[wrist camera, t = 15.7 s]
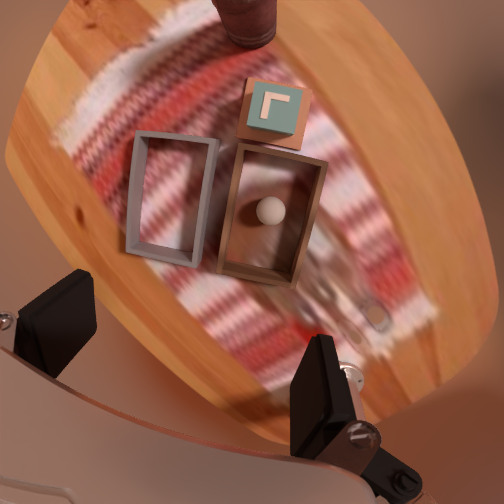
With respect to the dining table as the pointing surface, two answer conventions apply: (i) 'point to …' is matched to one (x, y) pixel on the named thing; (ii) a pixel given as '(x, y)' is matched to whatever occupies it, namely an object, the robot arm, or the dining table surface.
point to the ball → (270, 211)
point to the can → (248, 21)
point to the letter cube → (274, 108)
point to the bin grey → (136, 201)
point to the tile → (270, 137)
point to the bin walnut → (292, 277)
